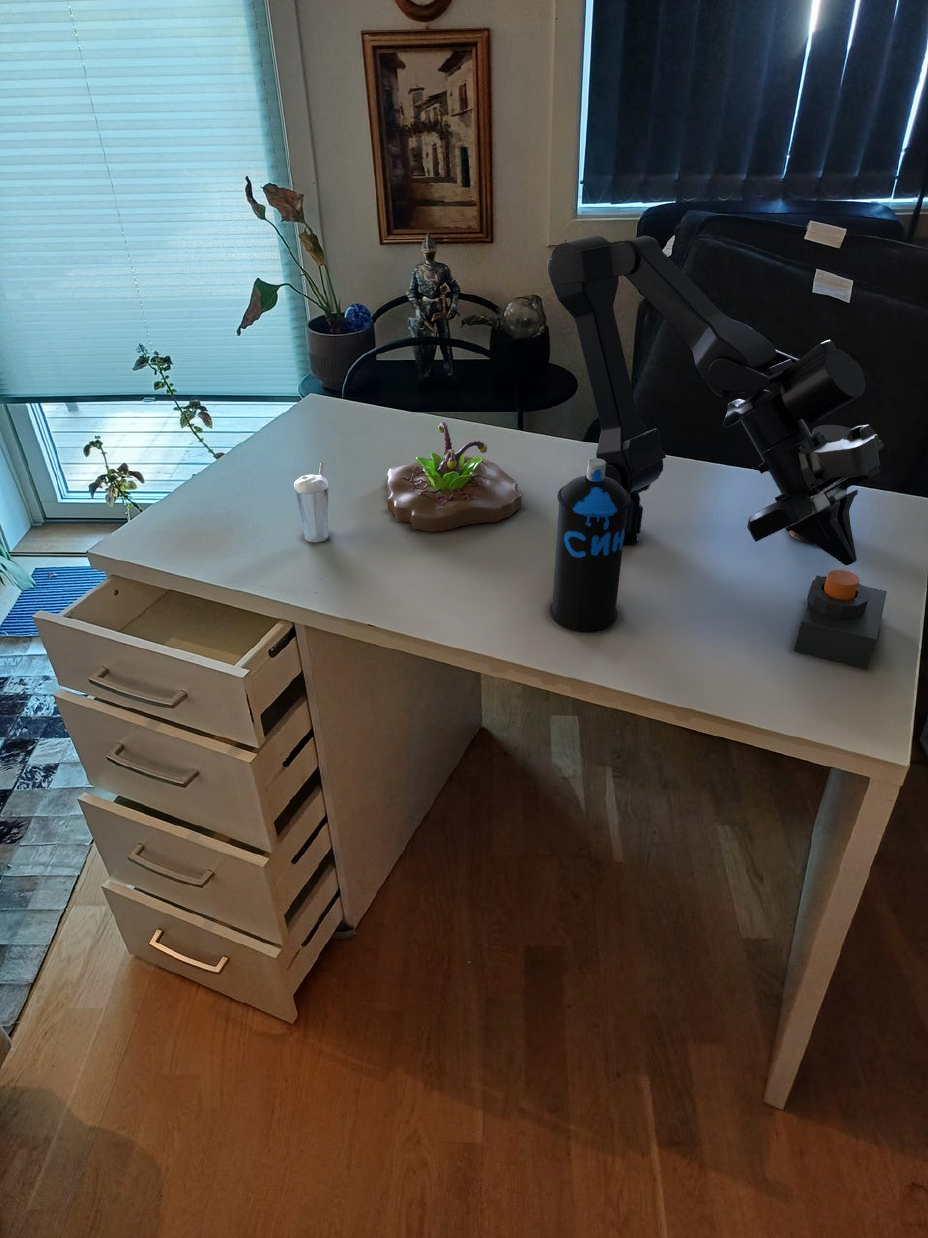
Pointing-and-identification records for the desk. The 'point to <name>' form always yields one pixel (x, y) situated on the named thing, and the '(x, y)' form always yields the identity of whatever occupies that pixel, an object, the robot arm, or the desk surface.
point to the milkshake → (313, 505)
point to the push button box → (841, 625)
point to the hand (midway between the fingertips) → (851, 563)
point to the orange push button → (841, 584)
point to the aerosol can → (589, 550)
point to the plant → (451, 490)
